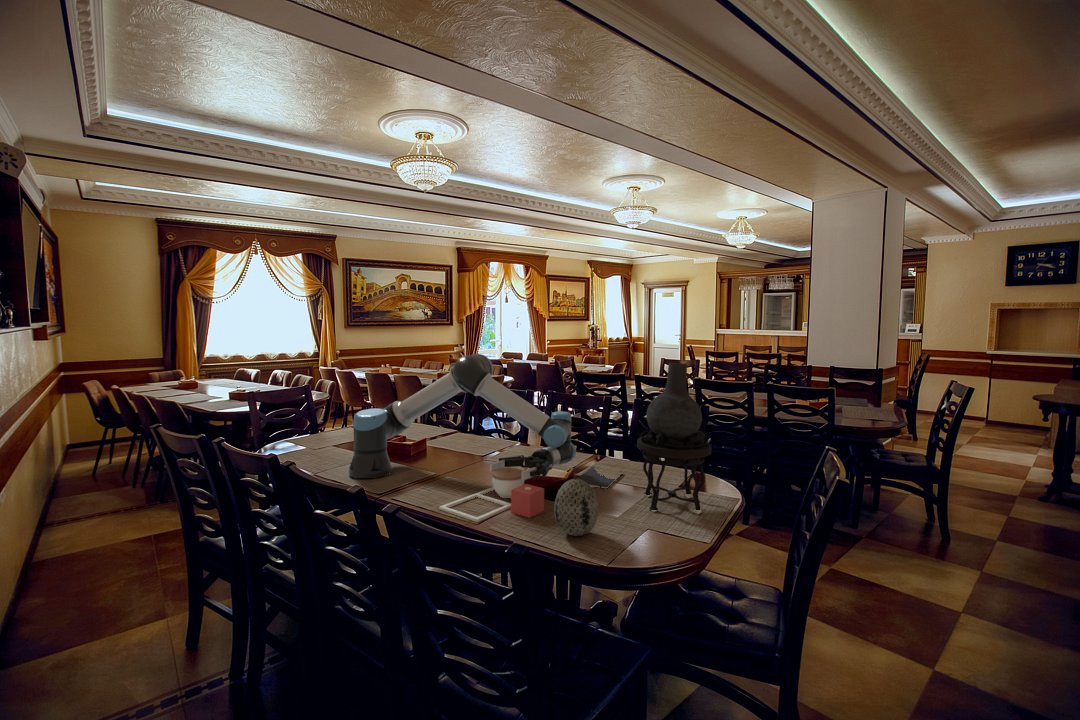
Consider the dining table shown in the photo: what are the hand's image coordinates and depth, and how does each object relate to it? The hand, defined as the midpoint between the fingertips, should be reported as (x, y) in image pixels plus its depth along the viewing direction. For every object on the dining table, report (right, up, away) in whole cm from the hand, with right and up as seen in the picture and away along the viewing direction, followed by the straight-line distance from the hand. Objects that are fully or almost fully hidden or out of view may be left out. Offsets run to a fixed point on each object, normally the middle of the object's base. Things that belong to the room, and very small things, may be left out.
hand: (506, 472), depth 161 cm
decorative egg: (+21, -11, -28) cm, 36 cm away
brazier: (+53, -10, -4) cm, 54 cm away
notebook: (+33, -8, +22) cm, 40 cm away
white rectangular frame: (-4, -8, -4) cm, 10 cm away
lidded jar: (+1, -8, +2) cm, 9 cm away
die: (+7, -9, -12) cm, 17 cm away
